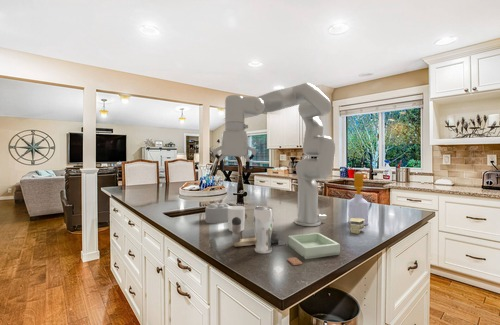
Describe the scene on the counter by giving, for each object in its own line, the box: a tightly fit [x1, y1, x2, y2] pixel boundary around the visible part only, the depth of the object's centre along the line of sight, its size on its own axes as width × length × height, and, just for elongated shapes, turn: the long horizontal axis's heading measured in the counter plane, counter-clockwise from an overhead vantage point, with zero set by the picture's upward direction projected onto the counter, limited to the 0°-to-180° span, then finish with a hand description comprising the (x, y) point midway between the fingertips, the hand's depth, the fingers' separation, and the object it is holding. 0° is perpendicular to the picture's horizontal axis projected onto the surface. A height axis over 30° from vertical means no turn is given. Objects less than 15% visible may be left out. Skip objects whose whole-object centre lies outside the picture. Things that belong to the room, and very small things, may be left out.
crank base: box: [271, 238, 303, 266], centre depth 89 cm, size 8×24×1 cm, turn 17°
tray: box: [287, 232, 341, 260], centre depth 89 cm, size 13×13×4 cm
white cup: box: [227, 205, 246, 232], centre depth 113 cm, size 8×8×10 cm
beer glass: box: [252, 205, 274, 255], centre depth 88 cm, size 7×7×15 cm
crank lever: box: [231, 217, 280, 247], centre depth 95 cm, size 18×5×10 cm, turn 107°
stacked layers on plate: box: [349, 218, 366, 234], centre depth 111 cm, size 10×9×6 cm
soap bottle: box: [347, 172, 369, 226], centre depth 124 cm, size 9×9×25 cm
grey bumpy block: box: [204, 201, 230, 224], centre depth 129 cm, size 10×13×9 cm
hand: (234, 171), depth 99 cm, fingers open, 9 cm apart
